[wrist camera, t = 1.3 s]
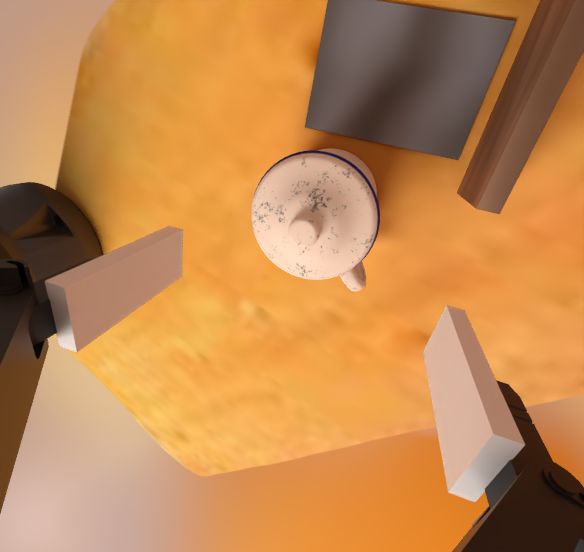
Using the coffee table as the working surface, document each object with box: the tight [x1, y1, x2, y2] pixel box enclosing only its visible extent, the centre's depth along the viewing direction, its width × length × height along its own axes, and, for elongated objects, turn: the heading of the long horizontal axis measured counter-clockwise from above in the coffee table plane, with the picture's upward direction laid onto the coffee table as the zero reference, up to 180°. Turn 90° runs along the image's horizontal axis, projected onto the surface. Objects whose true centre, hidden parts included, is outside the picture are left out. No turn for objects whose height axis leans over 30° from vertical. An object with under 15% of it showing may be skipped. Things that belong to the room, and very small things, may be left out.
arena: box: [305, 0, 584, 214], centre depth 20 cm, size 16×18×6 cm
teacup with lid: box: [251, 148, 380, 291], centre depth 24 cm, size 12×9×12 cm
